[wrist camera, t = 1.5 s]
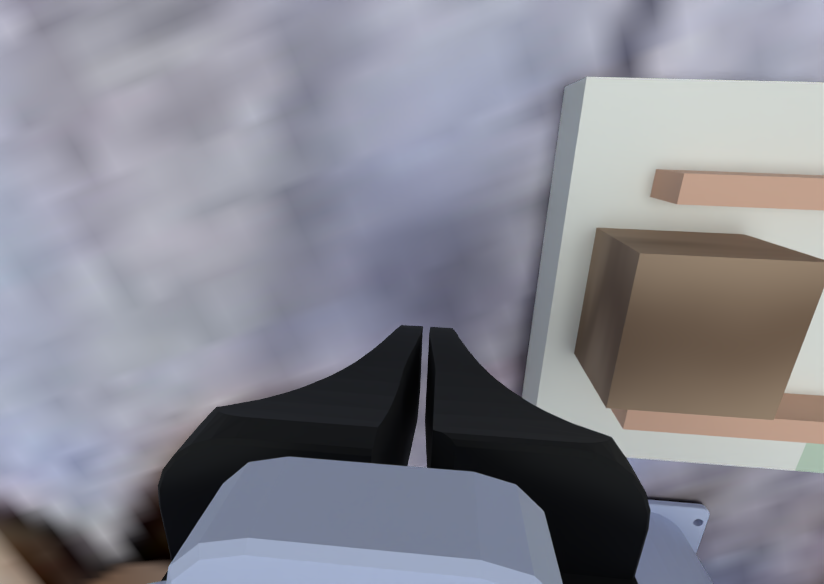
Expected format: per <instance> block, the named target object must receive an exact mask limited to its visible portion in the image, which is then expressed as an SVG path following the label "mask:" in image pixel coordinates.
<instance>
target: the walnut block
mask: <svg viewBox="0 0 824 584" xmlns="http://www.w3.org/2000/svg"><path fill="white" fill-rule="evenodd" d="M823 289H824V260H823V259H820V258H817V257H814V256H811V255H808V254H805V253H801V252H798V251H795V250H792V249H789V248H786V247H783V246H780V245H776V244H773V243H770V242H767V241H764V240H761V239H758V238H755V237H752V236H748V235H745V234H728V233H706V232H684V231H662V230H640V229H618V228H596V234H595V239H594V245H593V250H592V256H591V262H590V267H589V273H588V278H587V284H586V289H585V295H584V301H583V306H582V312H581V317H580V323H579V328H578V334H577V339H576V345H575V351H574V354H575V356H576V358H577V359H578V361H579V363H580V365H581V366H582V368H583V370H584V371H585V373H586V375H587V376H588V378H589V380H590V382H591V383H592V385H593V387H594V388H595V390H596V392H597V393H598V395H599V397H600V399H601V400H602V402H603V404H604V405H605V407H606V408H611V409H625V410H639V411H653V412H667V413H681V414H695V415H709V416H723V417H737V418H751V419H765V420H774V418H775V415H776V413H777V410H778V407H779V405H780V402H781V399H782V397H783V394H784V392H785V389H786V386H787V384H788V381H789V378H790V376H791V373H792V371H793V368H794V365H795V363H796V360H797V357H798V355H799V352H800V350H801V347H802V344H803V342H804V339H805V336H806V334H807V331H808V328H809V326H810V323H811V321H812V318H813V315H814V313H815V310H816V307H817V305H818V302H819V300H820V297H821V294H822V292H823Z"/></svg>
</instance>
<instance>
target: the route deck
mask: <svg viewBox="0 0 824 584" xmlns="http://www.w3.org/2000/svg"><path fill="white" fill-rule="evenodd" d="M596 228H618V229H640V230H662V231H684V232H706V233H728V234H745V235H748V236H752V237H755V238H758V239H761V240H764V241H767V242H770V243H773V244H776V245H780V246H783V247H786V248H789V249H792V250H795V251H798V252H801V253H805V254H808V255H811V256H814V257H817V258H820V259H823V260H824V82H785V81H742V80H700V79H657V78H614V77H585V78H583V79H581V80H579V81H576V82H574V83H572V84H570V85H568V86H565V88H564V95H563V102H562V110H561V117H560V124H559V131H558V139H557V146H556V153H555V160H554V167H553V175H552V182H551V189H550V196H549V204H548V211H547V218H546V225H545V233H544V240H543V247H542V254H541V261H540V269H539V276H538V283H537V290H536V298H535V305H534V312H533V319H532V326H531V334H530V341H529V348H528V355H527V363H526V370H525V377H524V384H523V392H522V398H523V399H525V400H526V401H528V402H530V403H531V404H533V405H535V406H537V407H539V408H541V409H543V410H544V411H546V412H548V413H551V414H553V415H555V416H557V417H559V418H562V419H564V420H566V421H568V422H571V423H573V424H576V425H579V426H582V427H585V428H588V429H590V430H593V431H596V432H599V433H602V434H605V435H608V436H610V437H612V438H613V439H614V441H615V442H616V444H617V445H618V447H619V448H620V450H621V451H622V453H623V454H624V455H625V457H626V458H639V459H651V460H664V461H677V462H690V463H702V464H715V465H728V466H741V467H753V468H766V469H779V470H791V471H804V472H817V473H824V289H823V292H822V294H821V297H820V300H819V302H818V305H817V307H816V310H815V313H814V315H813V318H812V321H811V323H810V326H809V328H808V331H807V334H806V336H805V339H804V342H803V344H802V347H801V350H800V352H799V355H798V357H797V360H796V363H795V365H794V368H793V371H792V373H791V376H790V378H789V381H788V384H787V386H786V389H785V392H784V394H783V397H782V399H781V402H780V405H779V407H778V410H777V413H776V415H775V418H774V420H765V419H751V418H737V417H723V416H709V415H695V414H681V413H667V412H653V411H639V410H625V409H611V408H606V407H605V405H604V404H603V402H602V400H601V399H600V397H599V395H598V393H597V392H596V390H595V388H594V387H593V385H592V383H591V382H590V380H589V378H588V376H587V375H586V373H585V371H584V370H583V368H582V366H581V365H580V363H579V361H578V359H577V358H576V356H575V354H574V351H575V345H576V339H577V334H578V328H579V323H580V317H581V312H582V306H583V301H584V295H585V289H586V284H587V278H588V273H589V267H590V262H591V256H592V250H593V245H594V239H595V234H596Z"/></svg>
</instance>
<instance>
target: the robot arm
mask: <svg viewBox="0 0 824 584" xmlns="http://www.w3.org/2000/svg"><path fill="white" fill-rule="evenodd" d="M422 333H423V327H422V326H406V325H401V326H400V327H399V328H397V329H396V330H395V331H394V332H393V333H392V334H391V335H389V336H388V337H387V338H386V339H385V340H384V341H383V342H382V343H380V344H379V345H378V346H377V347H376V348H374V349H373V350H372V351H370V352H369V353H368V354H366V355H365V356H363V357H362V358H361V359H359V360H358V361H356V362H355V363H353V364H352V365H350V366H348V367H347V368H345V369H343V370H341V371H339V372H337V373H335V374H333V375H331V376H329V377H327V378H325V379H322V380H320V381H317V382H315V383H312V384H310V385H307V386H305V387H302V388H300V389H297V390H293V391H290V392H287V393H284V394H280V395H276V396H272V397H269V398H264V399H260V400H255V401H250V402H244V403H239V404H233V405H228V406H221V407H216V408H215V409H214V410H213V411H212V412H211V413H210V414H209V415H208V416H207V418H206V419H205V420H204V421H203V422H202V423H201V424H200V425H199V426H198V428H197V429H196V430H195V431H194V432H193V433H192V435H191V436H190V437H189V438H188V439H187V440H186V442H185V443H184V444H183V445H182V446H181V447H180V449H179V450H178V451H177V452H176V453H175V454H174V456H173V457H172V458H171V460H170V461H169V462H168V463H167V465H166V466H165V467H164V469H163V471H162V474H161V478H160V481H159V484H158V494H159V506H160V510H161V515H162V519H163V524H164V528H165V533H166V537H167V542H168V546H169V551H170V555H171V560H172V562H171V564H170V565H169V567H168V571H167V573H166V574H165V576H164V577H163V579H162V581H160V582H154V583H149V584H713V582H712V580H711V579H710V577H709V575H708V574H707V572H706V570H705V569H704V567H703V565H702V564H701V562H700V560H699V559H698V557H697V555H696V552H697V550H698V547H699V544H700V541H701V538H702V535H703V533H704V530H705V527H706V524H707V521H708V518H709V514H710V513H709V511H708V510H707V508H706V507H705V506H704V505H702V504H695V503H683V502H671V501H659V500H648V499H647V495H646V492H645V490H644V488H643V486H642V485H641V483H640V481H639V479H638V477H637V476H636V474H635V472H634V470H633V469H632V467H631V465H630V463H629V462H628V460H627V458H626V457H625V455H624V454H623V453H622V451H621V450H620V448H619V447H618V445H617V444H616V442H615V441H614V439H613V438H612V437H610V436H608V435H605V434H602V433H599V432H596V431H593V430H590V429H588V428H585V427H582V426H579V425H576V424H573V423H571V422H568V421H566V420H564V419H562V418H559V417H557V416H555V415H553V414H551V413H548V412H546V411H544V410H543V409H541V408H539V407H537V406H535V405H533V404H531V403H530V402H528V401H526V400H525V399H523V398H521V397H520V396H518V395H517V394H515V393H514V392H512V391H511V390H509V389H508V388H507V387H505V386H504V385H503V384H501V383H500V382H499V381H498V380H496V379H495V378H494V377H493V376H492V375H490V374H489V373H488V372H487V371H486V370H485V369H484V368H483V367H482V366H481V365H480V364H479V363H478V362H477V360H476V359H475V358H474V357H473V356H472V354H471V353H470V352H469V351H468V349H467V348H466V347H465V345H464V344H463V343H462V341H461V340H460V338H459V337H458V335H457V333H456V332H455V331H454V330H453V328H438V327H430V333H429V352H428V373H427V393H426V413H425V429H426V453H427V468H422V467H410V466H407V465H408V460H409V456H410V451H411V447H412V442H413V437H414V433H415V428H416V423H417V418H418V407H419V396H420V379H421V356H422ZM696 519H697V520H696Z"/></svg>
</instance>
